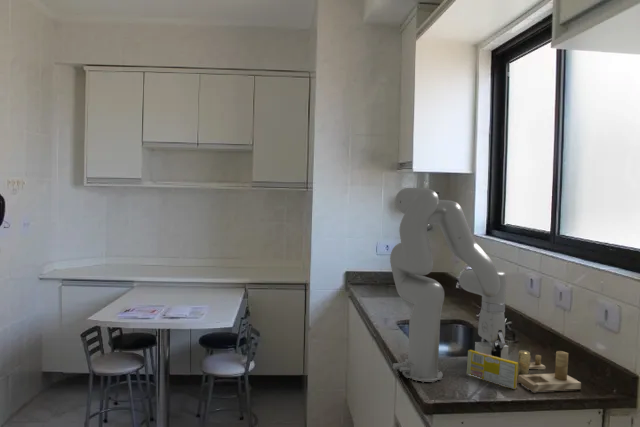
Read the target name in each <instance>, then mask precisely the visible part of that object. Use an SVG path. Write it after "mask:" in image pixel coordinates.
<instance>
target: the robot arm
mask: <svg viewBox="0 0 640 427" xmlns="http://www.w3.org/2000/svg"><path fill="white" fill-rule="evenodd" d="M394 199H395V201H394V203H395V206H396V208H397V209H398V211H399V212H400V213H402V214H403V216H402V219H401V221H400V223H399V230H398V232H399V238H400V242H399V243H397V244H395V245H394V247H393V248H392V249H391V252H390V256H389V263H390V268H391V273H392V277H393V282H394V284H395V288H396V292H397V294H398V295H399V297H400V298H401V299H402V300H404V301H406V302H408V303H411V304H413V307H412V311H411V314H410V317H409V323H408V325H409V326H408V328H409V329H408V348H407V349H408V351H407V353H408V354H407V358H405V359H404V361H403V362H401V363H398V362H397V363H395V362H394V363H393V364H392V368H393V370H399V371H400V372H402V375H403V376H404V377H405V378H406V379H408V378H413V379H417V380H424V381H434V380H439V379H441V378H442V377H444V376H443V372H442V371H441V370H440V369H439V354H440V351H439V350H440V334H441V332H440V331H441V314H442V308H443V304H444V300H445V289H444V287H443V286H442V284H441V283H440V282H438V281H437V280H436V279H434V278H431V277H427V276H426V275H429V274H431V272H432V270H433V267H434V258H433V254H432V248H431V246H430V240H429V239H430V238H429V235H428V226H429V224H430V225H435V226H439V229H440V230H441V232H442V234H443V238H444V240H445V242H446V245H447V247H448V250H449V251H450V252H451V253H452V254H453V255H454V256H455V257H457V258H458V259H460V260H461V261H463V262H464V263H465V264H466V265H468V266H469V267H470V268H471V269H466V270H465V271H463V272H462V273H461V274H460V275H459V278H458V283H459V286H460V287H461V289H463V290H464V291H466V292H469V293H472V294H475V295H479V296H481V307H480V313H479V319H478V327H477V328H478V329H477V334H478V336H479V338H480V339H481V341H480V342H491V343H492V347H493V350H492V353H491V355H492V356H495V357H499V358H501V351H502V349H503V347H504V346H505V345H506V342H505V341H506V340H505V339H506V338H505V337H506V322H505V321H506V319H505V312H506V296H507V295H506V294H507V290H506V289H507V273H506V272H505V271H503V270H498V269H496V266H495V264H494V262H493V260H492V259H491V257H490V256H489V255H488V254H487V253H486V252H485V250H483V248H482V247H481V246H480V244H478V243H477V242H476V240H475V238H474V235H473V233H472V231H471V229H470V226H469V224H468V220H467V218H466V216H465V213H464V211H463V208H462V207H461V205H460V204H459V203H458V202H456V201H454V200H448V199H439V195H438V193H437V192H436V191H435V190H433V189H431V188H425V187H406V188H403V189H401V190H399V191H398V192H397V193H396V196H395V198H394ZM495 343H498V345H497V346H496V345H495ZM442 379H443V378H442ZM442 379H441V380H442Z"/></svg>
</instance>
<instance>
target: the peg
mask: <svg viewBox="0 0 640 427" xmlns="http://www.w3.org/2000/svg"><path fill="white" fill-rule="evenodd" d="M530 356H531V352H530V351H528V350H524V349H522V350H518V359H517V360H518V361H517V362H518V375H530V370H529V363H530V362H531V361H530Z"/></svg>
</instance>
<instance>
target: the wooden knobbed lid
mask: <svg viewBox="0 0 640 427" xmlns="http://www.w3.org/2000/svg"><path fill="white" fill-rule="evenodd" d="M531 358H532V356H531V355H530V363H529V369H538V370H546V365H544V364H542V355H540V354H535V360H534V361H533V362H531V360H532V359H531Z"/></svg>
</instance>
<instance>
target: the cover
mask: <svg viewBox="0 0 640 427" xmlns="http://www.w3.org/2000/svg"><path fill="white" fill-rule="evenodd" d="M495 345H496V346H497V345H498V343H495ZM492 350H493V347H492V343H491V342H481V341H475V342H474V351H477V352H481V353H484V354H488V355H491V353H492ZM501 358H503V359H507V360H509V345H507V344H505V346H504V347H503V349H502V351H501Z"/></svg>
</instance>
